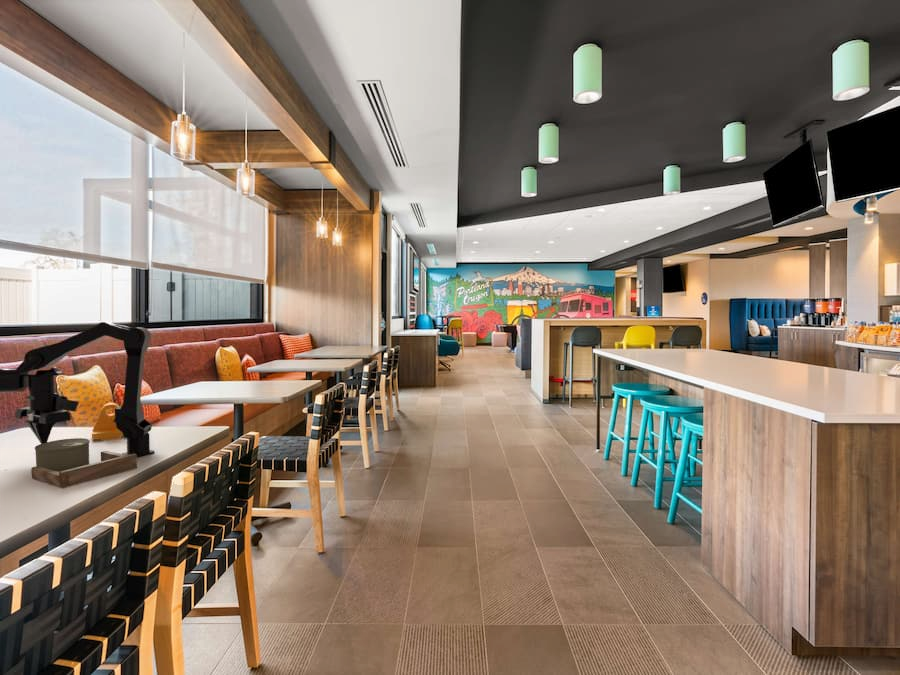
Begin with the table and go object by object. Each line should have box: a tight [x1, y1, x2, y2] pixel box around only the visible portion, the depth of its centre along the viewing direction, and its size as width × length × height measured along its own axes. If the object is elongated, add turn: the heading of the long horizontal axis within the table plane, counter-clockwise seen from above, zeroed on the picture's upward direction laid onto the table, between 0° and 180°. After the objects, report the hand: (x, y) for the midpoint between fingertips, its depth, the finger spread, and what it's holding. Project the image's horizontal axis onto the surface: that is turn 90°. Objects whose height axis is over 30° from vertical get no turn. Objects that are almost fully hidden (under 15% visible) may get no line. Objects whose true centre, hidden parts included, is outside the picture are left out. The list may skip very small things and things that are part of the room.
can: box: [34, 437, 91, 472], centre depth 132 cm, size 12×12×7 cm
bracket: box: [91, 402, 124, 441], centre depth 165 cm, size 11×7×12 cm, turn 126°
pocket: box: [30, 450, 138, 489], centre depth 127 cm, size 15×18×4 cm
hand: (43, 443), depth 137 cm, fingers closed
